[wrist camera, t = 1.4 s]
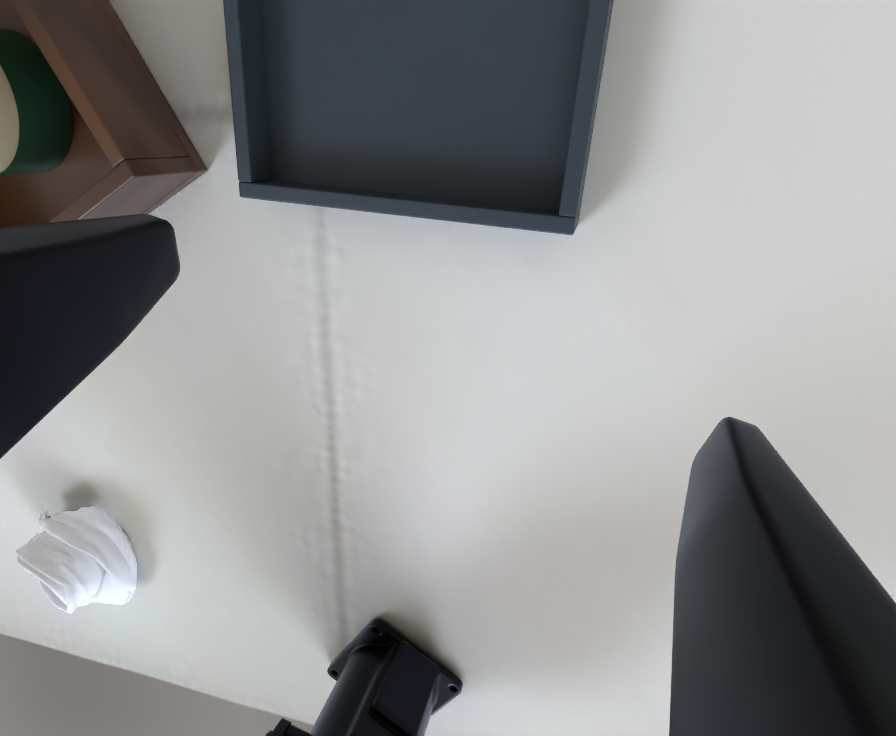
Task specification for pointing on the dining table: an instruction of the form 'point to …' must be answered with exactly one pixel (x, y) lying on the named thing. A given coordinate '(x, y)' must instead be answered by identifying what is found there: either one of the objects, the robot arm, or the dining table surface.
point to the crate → (98, 121)
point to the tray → (419, 105)
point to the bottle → (30, 109)
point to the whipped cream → (81, 559)
